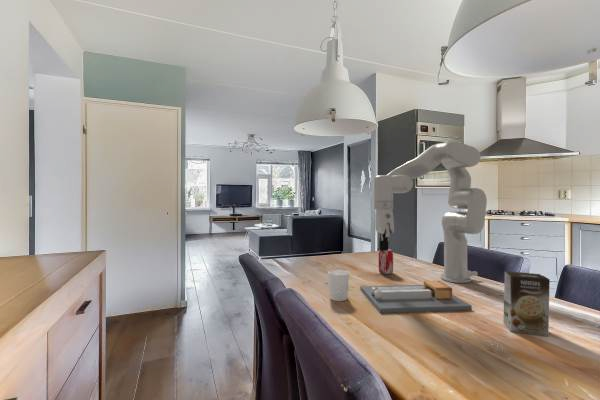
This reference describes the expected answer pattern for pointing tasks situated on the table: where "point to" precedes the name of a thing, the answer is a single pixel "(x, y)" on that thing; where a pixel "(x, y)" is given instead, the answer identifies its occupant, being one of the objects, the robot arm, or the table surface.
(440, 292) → the tray
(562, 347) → the table surface
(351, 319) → the table surface
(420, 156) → the robot arm
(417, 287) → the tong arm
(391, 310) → the board
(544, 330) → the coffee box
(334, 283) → the white cup
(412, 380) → the table surface
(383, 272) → the soda can
